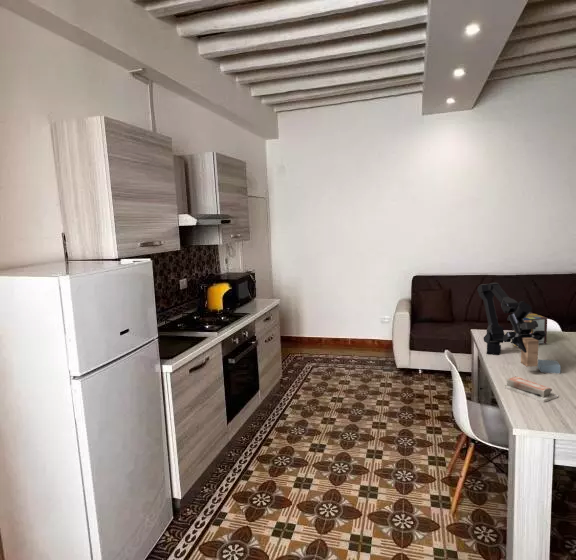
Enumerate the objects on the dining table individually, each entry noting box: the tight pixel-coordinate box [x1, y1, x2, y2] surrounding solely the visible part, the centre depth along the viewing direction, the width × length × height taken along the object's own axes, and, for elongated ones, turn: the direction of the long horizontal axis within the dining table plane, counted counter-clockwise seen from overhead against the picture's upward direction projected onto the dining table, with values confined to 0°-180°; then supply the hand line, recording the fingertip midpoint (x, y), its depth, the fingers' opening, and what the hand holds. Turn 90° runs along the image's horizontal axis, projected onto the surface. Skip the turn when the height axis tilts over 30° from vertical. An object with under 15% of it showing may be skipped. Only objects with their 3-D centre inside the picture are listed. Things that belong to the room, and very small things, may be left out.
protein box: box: [523, 312, 548, 345], centre depth 252 cm, size 10×15×16 cm
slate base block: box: [537, 358, 561, 374], centre depth 204 cm, size 8×8×4 cm
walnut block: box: [520, 338, 539, 368], centre depth 200 cm, size 5×5×12 cm
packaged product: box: [503, 376, 559, 403], centre depth 179 cm, size 18×5×10 cm
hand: (531, 351), depth 198 cm, fingers closed on walnut block, 5 cm apart
